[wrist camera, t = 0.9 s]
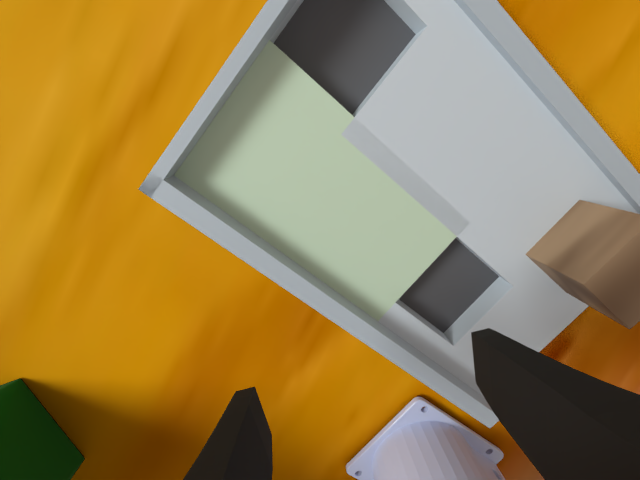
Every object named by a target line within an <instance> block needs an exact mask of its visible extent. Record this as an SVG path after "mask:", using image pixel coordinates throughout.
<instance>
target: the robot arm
mask: <svg viewBox="0 0 640 480" xmlns="http://www.w3.org/2000/svg"><path fill="white" fill-rule="evenodd" d="M471 337H472V348H473V359H474V370H475V381H476V384H477V386H478V387H479V389H480V391H481V393H482V394H483V396H484V398H485V399H486V401H487V403H488V404H489V406H490V408H491V409H492V411H493V412H494V414H495V415H496V416H497V418H498V419H499V420H500V422H501V423H502V424H503V426H504V427H505V428H506V430H507V431H508V432H509V434H510V435H511V436H512V438H513V439H514V440H515V441H516V443H517V444H518V445H519V447H520V448H521V449H522V450H523V452H524V453H525V454H526V456H527V457H528V458H529V460H530V461H531V462H532V463H533V465H534V466H535V467H536V469H537V470H538V471H539V473H540V474H541V475H542V476H543V478H544V479H545V480H640V395H638V394H636V393H633V392H630V391H627V390H625V389H622V388H619V387H617V386H614V385H611V384H609V383H606V382H604V381H601V380H599V379H597V378H594V377H592V376H590V375H587V374H585V373H583V372H580V371H578V370H576V369H573V368H571V367H569V366H567V365H564V364H562V363H560V362H558V361H556V360H554V359H552V358H549V357H547V356H545V355H543V354H541V353H539V352H537V351H535V350H533V349H531V348H529V347H527V346H525V345H523V344H521V343H519V342H517V341H515V340H513V339H511V338H509V337H507V336H505V335H503V334H501V333H499V332H497V331H495V330H493V329H490V328H487V329H483V330H479V331H475V332H471ZM422 407H424V408H422ZM503 456H504V454H503V452H502V451H501V450H500V449H499V448H498V447H496V446H495V445H493V444H492V443H490V442H489V441H487V440H486V439H484V438H483V437H481V436H480V435H478V434H477V433H475V432H474V431H472V430H471V429H469V428H468V427H466V426H465V425H463V424H462V423H460V422H459V421H457V420H456V419H454V418H453V417H451V416H450V415H448V414H447V413H445V412H444V411H442V410H441V409H439V408H438V407H436V406H435V405H433V404H432V403H430V402H429V401H427V400H426V399H424V398H422V397H415V398H414V399H412V400H411V401H410V402H409V403H408V404H407V405H406V406H405V407H404V408H403V409H402V410H401V411H400V412H399V413H398V414H397V415H396V416H395V417H394V418H393V419H392V420H391V421H390V422H389V423H388V424H387V425H386V426H385V427H384V428H383V429H382V430H381V431H380V432H379V433H378V434H377V435H376V436H375V437H374V438H373V439H372V440H371V441H370V442H369V443H368V444H367V445H366V446H365V447H364V448H363V449H362V450H361V451H360V452H359V453H358V454H356V455H355V456H354V457H353V458H352V459H351V460H350V461H349V462H348V463H347V465H346V472H347V473H348V474H349V475H351V476H352V477H354V478H356V479H358V480H505V478H504V477H503V475H502V473H501V472H500V470H499V469H498V467H497V465H496V464H497V463H498V462H499V461H501V460H502V459H503ZM272 469H273V467H272V434H271V431H270V429H269V426H268V423H267V420H266V417H265V414H264V412H263V409H262V406H261V403H260V400H259V397H258V395H257V392H256V389H255V387H252V388H248V389H244V390H240V391H236V392H235V394H234V396H233V397H232V399H231V401H230V403H229V404H228V406H227V408H226V410H225V412H224V413H223V415H222V417H221V419H220V420H219V422H218V424H217V426H216V427H215V429H214V431H213V433H212V434H211V436H210V438H209V439H208V441H207V443H206V444H205V446H204V448H203V449H202V451H201V453H200V454H199V456H198V458H197V459H196V461H195V462H194V464H193V465H192V467H191V468H190V470H189V471H188V473H187V474H186V476H185V477H184V479H183V480H272Z"/></svg>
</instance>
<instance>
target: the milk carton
mask: <svg viewBox="0 0 640 480" xmlns="http://www.w3.org/2000/svg"><path fill="white" fill-rule="evenodd" d="M84 459H85V458H84V457H83V456H82V454H81V453H80V452H79V451H78V449H77V448H76V447H75V446H74V444H73V443H72V442H71V441H70V439H69V438H68V437H67V436H66V434H65V433H64V432H63V431H62V429H61V428H60V427H59V426H58V424H57V423H56V422H55V421H54V419H53V418H52V417H51V416H50V414H49V413H48V412H47V411H46V409H45V408H44V407H43V406H42V405H41V403H40V402H39V401H38V400H37V398H36V397H35V396H34V395H33V393H32V392H31V391H30V390H29V388H28V387H27V386H26V385H25V383H24V382H23V381H22V380H21V379H17V380H14V381H11V382H9V383H6V384H3V385H0V480H71V478H72V477H73V475H74V474H75V472H76V471H77V469H78V468H79V466H80V465H81V464H82V462H83V461H84Z"/></svg>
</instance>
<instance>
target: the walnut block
mask: <svg viewBox="0 0 640 480" xmlns="http://www.w3.org/2000/svg"><path fill="white" fill-rule="evenodd" d="M525 255H527V256H528V257H529V258H530V259H531V260H532V261H533V262H534V263H535V264H536V265H537V266H538V267H539V268H540V269H542V270H543V271H544V272H545V273H546V274H547V275H548V276H549V277H550V278H551V279H552V280H553V281H554V282H555V283H556V284H558V285H559V286H560V287H561V288H562V289H563V290H564V291H565V292H566V293H568V294H570V295H571V296H573V297H575V298H577V299H578V300H580V301H582V302H583V303H585V304H587V305H589V306H590V307H592V308H594V309H595V310H597V311H599V312H601V313H602V314H604V315H606V316H608V317H609V318H611V319H613V320H614V321H616V322H618V323H620V324H621V325H623V326H625V327H627V328H628V329H631V328H632V327H633V326H634V325H635V324H637V323H638V322H639V321H640V214H637V213H633V212H629V211H625V210H621V209H616V208H612V207H608V206H604V205H600V204H595V203H591V202H587V201H583V200H579V201H578V202H577V203H576V204H575V205H574V206H573V207H572V208H571V209H570V210H569V211H568V212H567V213H566V214H565V215H564V216H563V217H562V218H561V219H560V220H559V221H558V222H557V223H556V224H555V225H554V226H553V227H552V228H551V229H550V230H549V231H548V232H547V233H546V234H545V235H544V236H543V237H542V238H541V239H540V240H539V241H538V242H537V243H536V244H535V245H534V246H533V247H532V248H531V249H530V250H529V251H528V252H527V253H526V254H525Z"/></svg>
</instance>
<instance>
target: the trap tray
mask: <svg viewBox="0 0 640 480" xmlns="http://www.w3.org/2000/svg"><path fill="white" fill-rule="evenodd" d="M139 190H140V191H142V192H143V193H145V194H146V195H148V196H149V197H150V198H152V199H153V200H155V201H156V202H158V203H159V204H161V205H162V206H164V207H165V208H167V209H168V210H170V211H171V212H173V213H174V214H175V215H177V216H178V217H180V218H181V219H183V220H184V221H186V222H187V223H189V224H190V225H192V226H193V227H195V228H196V229H197V230H199V231H200V232H202V233H203V234H205V235H206V236H208V237H209V238H211V239H212V240H214V241H215V242H217V243H218V244H220V245H221V246H222V247H224V248H225V249H227V250H228V251H230V252H231V253H233V254H234V255H236V256H237V257H239V258H240V259H242V260H243V261H245V262H246V263H247V264H249V265H250V266H252V267H253V268H255V269H256V270H258V271H259V272H261V273H262V274H264V275H265V276H267V277H268V278H269V279H271V280H272V281H274V282H275V283H277V284H278V285H280V286H281V287H283V288H284V289H286V290H287V291H289V292H290V293H292V294H293V295H294V296H296V297H297V298H299V299H300V300H302V301H303V302H305V303H306V304H308V305H309V306H311V307H312V308H314V309H315V310H316V311H318V312H319V313H321V314H322V315H324V316H325V317H327V318H328V319H330V320H331V321H333V322H334V323H336V324H337V325H339V326H340V327H341V328H343V329H344V330H346V331H347V332H349V333H350V334H352V335H353V336H355V337H356V338H358V339H359V340H361V341H362V342H364V343H365V344H366V345H368V346H369V347H371V348H372V349H374V350H375V351H377V352H378V353H380V354H381V355H383V356H384V357H386V358H387V359H388V360H390V361H391V362H393V363H394V364H396V365H397V366H399V367H400V368H402V369H403V370H405V371H406V372H408V373H409V374H411V375H412V376H413V377H415V378H416V379H418V380H419V381H421V382H422V383H424V384H425V385H427V386H428V387H430V388H431V389H433V390H434V391H435V392H437V393H438V394H440V395H441V396H443V397H444V398H446V399H447V400H449V401H450V402H452V403H453V404H455V405H456V406H458V407H459V408H460V409H462V410H463V411H465V412H466V413H468V414H469V415H471V416H472V417H474V418H475V419H477V420H478V421H480V422H481V423H483V424H484V425H485V426H487V427H488V428H491V427H492V426H493V425H494V424H496V423H497V422H498V421H499V419H498V418H497V416H496V415H495V414H494V412H493V411H492V409H491V408H490V406H489V404H488V403H487V401H486V399H485V398H484V396H483V394H482V393H481V391H480V389H479V387H478V386H477V384H476V381H475V370H474V359H473V348H472V337H471V332H475V331H479V330H483V329H487V328H490V329H493V330H495V331H497V332H499V333H501V334H503V335H505V336H507V337H509V338H511V339H513V340H515V341H517V342H519V343H521V344H523V345H525V346H527V347H529V348H531V349H533V350H535V351H537V352H540V351H541V350H542V349H543V348H544V347H545V346H546V345H547V344H548V343H550V342H551V341H552V340H553V339H554V338H555V337H556V336H557V335H558V334H559V333H560V332H561V331H562V330H564V329H565V328H566V327H567V326H568V325H569V324H570V323H571V322H572V321H573V320H574V319H575V318H576V317H578V316H579V315H580V314H581V313H582V312H583V311H584V310H585V309H586V308H587V307H588V306H589V305H587V304H585V303H583V302H582V301H580V300H578V299H577V298H575V297H573V296H571V295H570V294H568V293H566V292H565V291H564V290H563V289H562V288H561V287H560V286H559V285H558V284H556V283H555V282H554V281H553V280H552V279H551V278H550V277H549V276H548V275H547V274H546V273H545V272H544V271H543V270H542V269H540V268H539V267H538V266H537V265H536V264H535V263H534V262H533V261H532V260H531V259H530V258H529V257H528V256H527V255H525V254H526V253H527V252H528V251H529V250H530V249H531V248H532V247H533V246H534V245H535V244H536V243H537V242H538V241H539V240H540V239H541V238H542V237H543V236H544V235H545V234H546V233H547V232H548V231H549V230H550V229H551V228H552V227H553V226H554V225H555V224H556V223H557V222H558V221H559V220H560V219H561V218H562V217H563V216H564V215H565V214H566V213H567V212H568V211H569V210H570V209H571V208H572V207H573V206H574V205H575V204H576V203H577V202H578V201H579V200H583V201H587V202H591V203H595V204H600V205H604V206H608V207H612V208H616V209H621V210H625V211H629V212H633V213H637V214H640V174H639V173H638V172H637V171H636V169H635V168H634V167H633V166H632V164H631V163H630V162H629V161H628V160H627V158H626V157H625V156H624V155H623V154H622V152H621V151H620V150H619V149H618V147H617V146H616V145H615V144H614V143H613V141H612V140H611V139H610V138H609V136H608V135H607V134H606V133H605V132H604V130H603V129H602V128H601V127H600V126H599V124H598V123H597V122H596V121H595V119H594V118H593V117H592V116H591V115H590V113H589V112H588V111H587V110H586V108H585V107H584V106H583V105H582V104H581V102H580V101H579V100H578V99H577V97H576V96H575V95H574V94H573V93H572V91H571V90H570V89H569V88H568V87H567V85H566V84H565V83H564V82H563V80H562V79H561V78H560V77H559V76H558V74H557V73H556V72H555V71H554V69H553V68H552V67H551V66H550V65H549V63H548V62H547V61H546V60H545V59H544V57H543V56H542V55H541V54H540V52H539V51H538V50H537V49H536V48H535V46H534V45H533V44H532V43H531V41H530V40H529V39H528V38H527V37H526V35H525V34H524V33H523V32H522V31H521V29H520V28H519V27H518V26H517V24H516V23H515V22H514V21H513V20H512V18H511V17H510V16H509V15H508V13H507V12H506V11H505V10H504V9H503V7H502V6H501V5H500V4H499V2H498V1H497V0H268V1H267V2H266V4H265V5H264V7H263V8H262V10H261V11H260V12H259V14H258V15H257V17H256V18H255V20H254V21H253V23H252V24H251V26H250V27H249V29H248V30H247V31H246V33H245V34H244V36H243V37H242V39H241V40H240V42H239V43H238V45H237V46H236V47H235V49H234V50H233V52H232V53H231V55H230V56H229V58H228V59H227V61H226V62H225V64H224V65H223V66H222V68H221V69H220V71H219V72H218V74H217V75H216V77H215V78H214V80H213V81H212V82H211V84H210V85H209V87H208V88H207V90H206V91H205V93H204V94H203V96H202V97H201V99H200V100H199V101H198V103H197V104H196V106H195V107H194V109H193V110H192V112H191V113H190V115H189V116H188V117H187V119H186V120H185V122H184V123H183V125H182V126H181V128H180V129H179V131H178V132H177V134H176V135H175V136H174V138H173V139H172V141H171V142H170V144H169V145H168V147H167V148H166V150H165V151H164V152H163V154H162V155H161V157H160V158H159V160H158V161H157V163H156V164H155V166H154V167H153V169H152V170H151V171H150V173H149V174H148V176H147V177H146V179H145V180H144V182H143V183H142V185H141V186H140V187H139Z"/></svg>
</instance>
